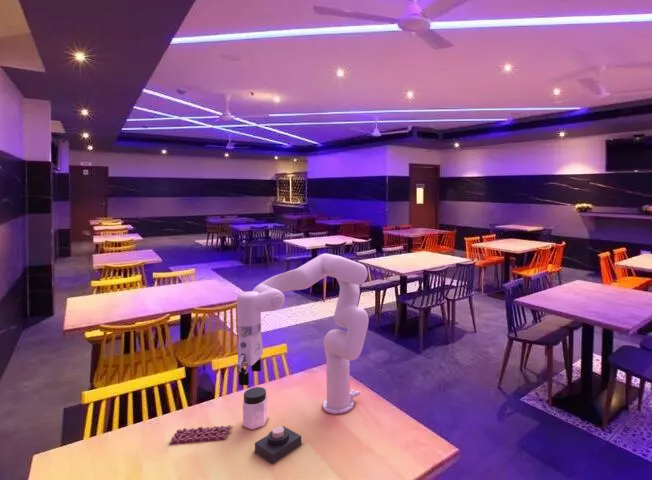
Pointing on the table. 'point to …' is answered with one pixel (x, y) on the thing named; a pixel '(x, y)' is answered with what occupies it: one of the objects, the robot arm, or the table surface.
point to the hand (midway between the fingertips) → (250, 377)
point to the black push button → (277, 445)
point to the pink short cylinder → (278, 432)
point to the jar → (254, 408)
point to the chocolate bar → (200, 434)
